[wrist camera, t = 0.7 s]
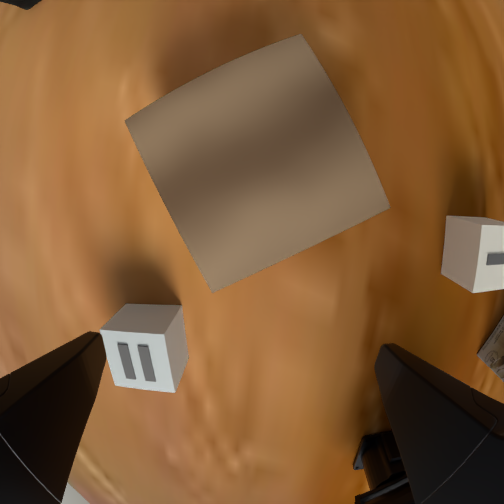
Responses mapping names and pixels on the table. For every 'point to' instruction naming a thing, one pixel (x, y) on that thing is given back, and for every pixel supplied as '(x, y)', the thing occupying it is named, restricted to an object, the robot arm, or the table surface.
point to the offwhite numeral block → (474, 253)
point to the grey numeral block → (146, 346)
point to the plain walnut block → (257, 161)
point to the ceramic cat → (22, 3)
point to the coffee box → (495, 350)
